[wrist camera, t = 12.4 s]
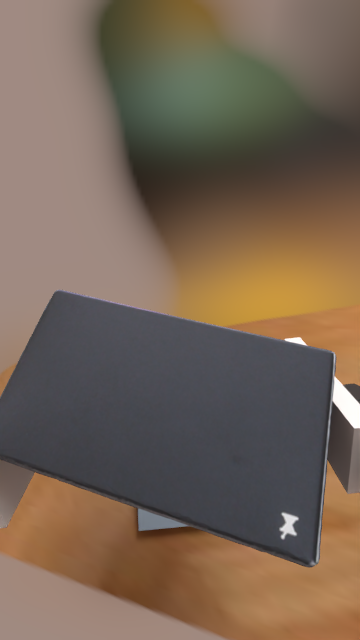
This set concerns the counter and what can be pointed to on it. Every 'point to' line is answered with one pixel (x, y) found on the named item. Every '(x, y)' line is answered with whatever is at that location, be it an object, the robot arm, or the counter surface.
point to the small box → (177, 420)
